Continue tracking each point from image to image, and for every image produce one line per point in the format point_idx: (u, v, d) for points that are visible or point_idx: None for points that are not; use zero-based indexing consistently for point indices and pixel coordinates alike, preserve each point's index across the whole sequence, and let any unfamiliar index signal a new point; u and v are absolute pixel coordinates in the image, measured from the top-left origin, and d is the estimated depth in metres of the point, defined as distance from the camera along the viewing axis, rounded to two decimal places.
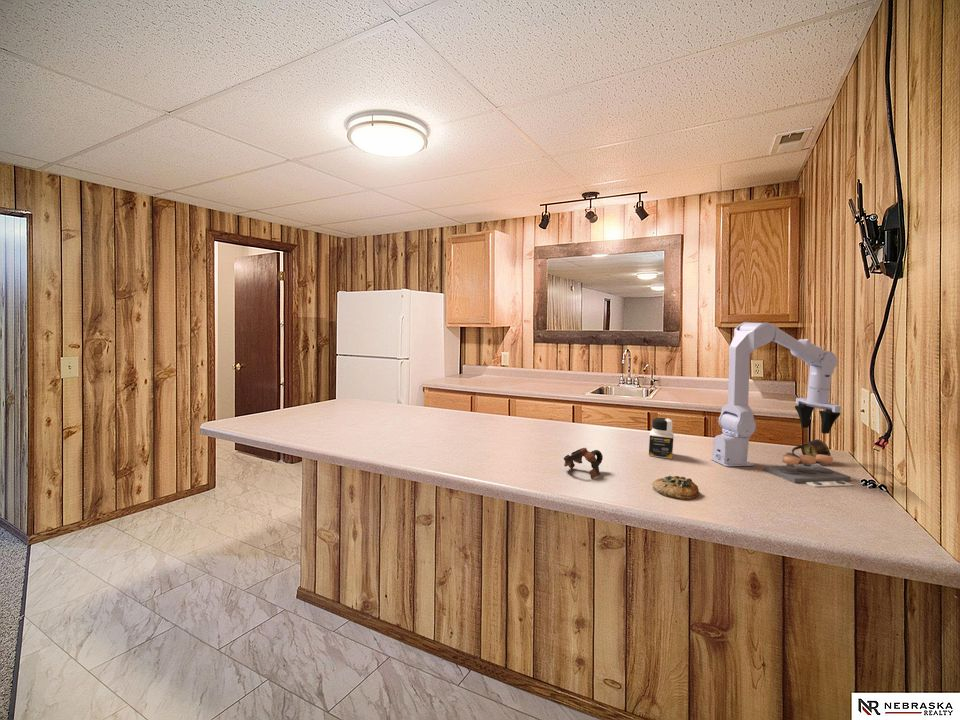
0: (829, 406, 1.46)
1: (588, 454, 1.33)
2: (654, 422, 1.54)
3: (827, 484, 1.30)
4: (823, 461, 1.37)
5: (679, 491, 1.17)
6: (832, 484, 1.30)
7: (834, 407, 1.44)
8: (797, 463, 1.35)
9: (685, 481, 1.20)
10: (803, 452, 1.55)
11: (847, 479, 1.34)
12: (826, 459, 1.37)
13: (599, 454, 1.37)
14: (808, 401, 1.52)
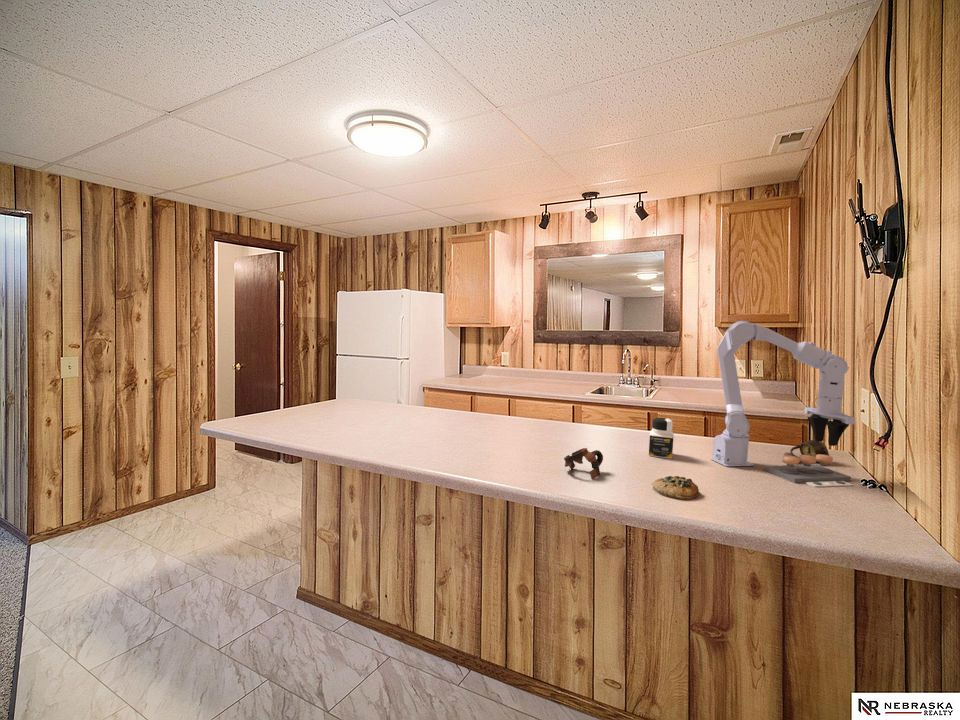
0: (842, 417, 1.32)
1: (589, 454, 1.32)
2: (654, 422, 1.54)
3: (827, 484, 1.30)
4: (823, 461, 1.37)
5: (679, 491, 1.17)
6: (832, 484, 1.30)
7: (847, 418, 1.31)
8: (797, 463, 1.35)
9: (685, 481, 1.20)
10: (801, 452, 1.55)
11: (847, 479, 1.34)
12: (826, 459, 1.37)
13: (599, 454, 1.37)
14: (818, 411, 1.38)
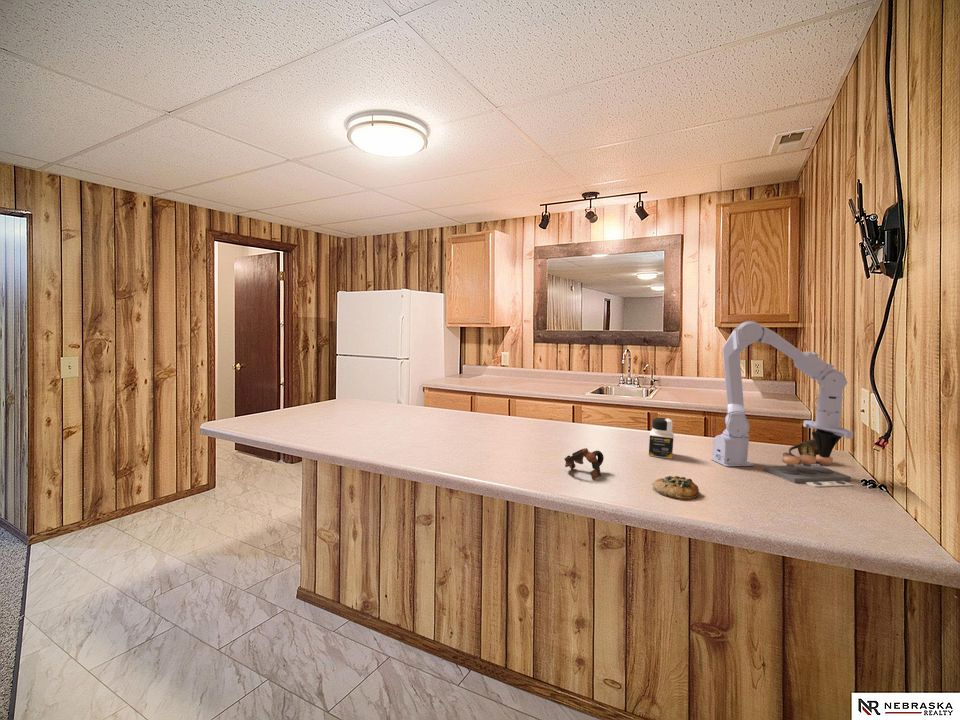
0: (840, 431, 1.32)
1: (589, 455, 1.32)
2: (654, 422, 1.54)
3: (827, 484, 1.30)
4: (823, 461, 1.37)
5: (679, 491, 1.17)
6: (832, 484, 1.30)
7: (846, 433, 1.31)
8: (797, 463, 1.35)
9: (685, 481, 1.20)
10: (800, 452, 1.55)
11: (847, 479, 1.34)
12: (826, 459, 1.37)
13: (600, 455, 1.36)
14: (816, 425, 1.38)
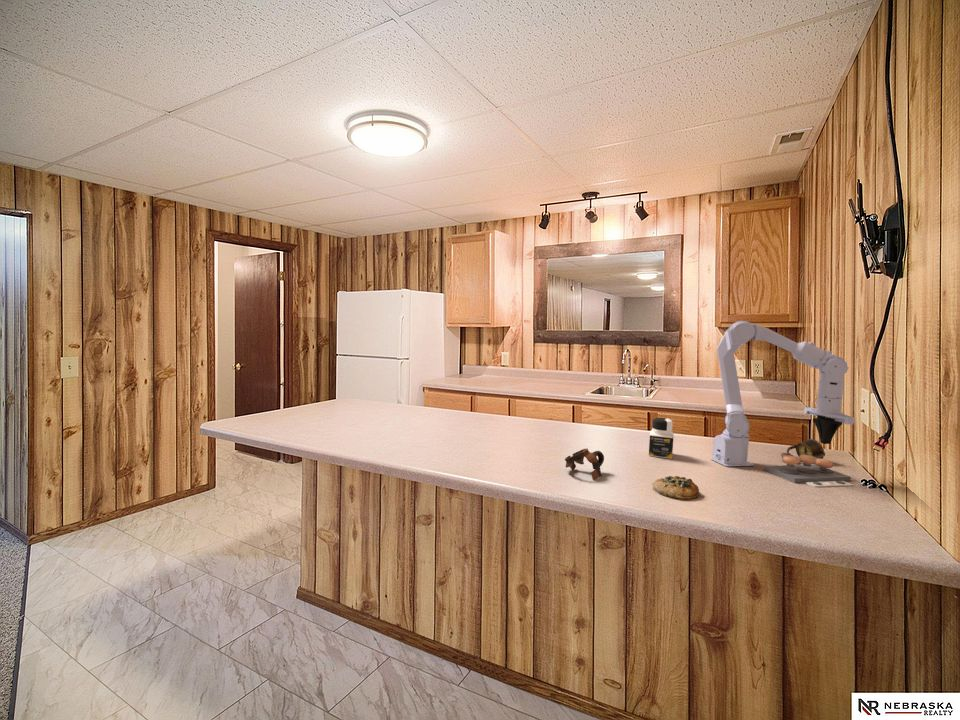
0: (841, 417, 1.32)
1: (590, 455, 1.32)
2: (654, 422, 1.54)
3: (827, 484, 1.30)
4: (823, 465, 1.37)
5: (679, 491, 1.17)
6: (832, 484, 1.30)
7: (847, 418, 1.31)
8: (797, 463, 1.35)
9: (685, 481, 1.20)
10: (797, 452, 1.56)
11: (847, 479, 1.34)
12: (826, 463, 1.37)
13: (600, 455, 1.36)
14: (817, 412, 1.38)
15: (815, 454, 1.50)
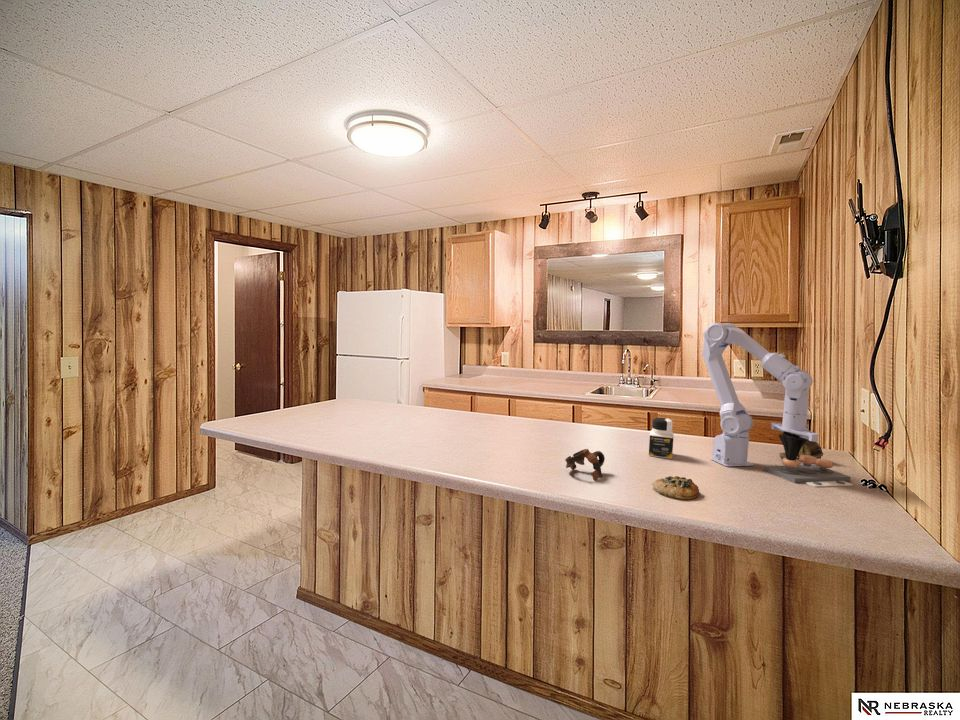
0: (806, 434, 1.31)
1: (590, 455, 1.31)
2: (654, 422, 1.54)
3: (827, 484, 1.30)
4: (823, 465, 1.37)
5: (679, 491, 1.17)
6: (832, 484, 1.30)
7: (811, 435, 1.29)
8: (797, 465, 1.35)
9: (685, 481, 1.20)
10: None
11: (847, 479, 1.34)
12: (826, 463, 1.37)
13: (601, 455, 1.36)
14: (783, 428, 1.36)
15: (813, 454, 1.50)
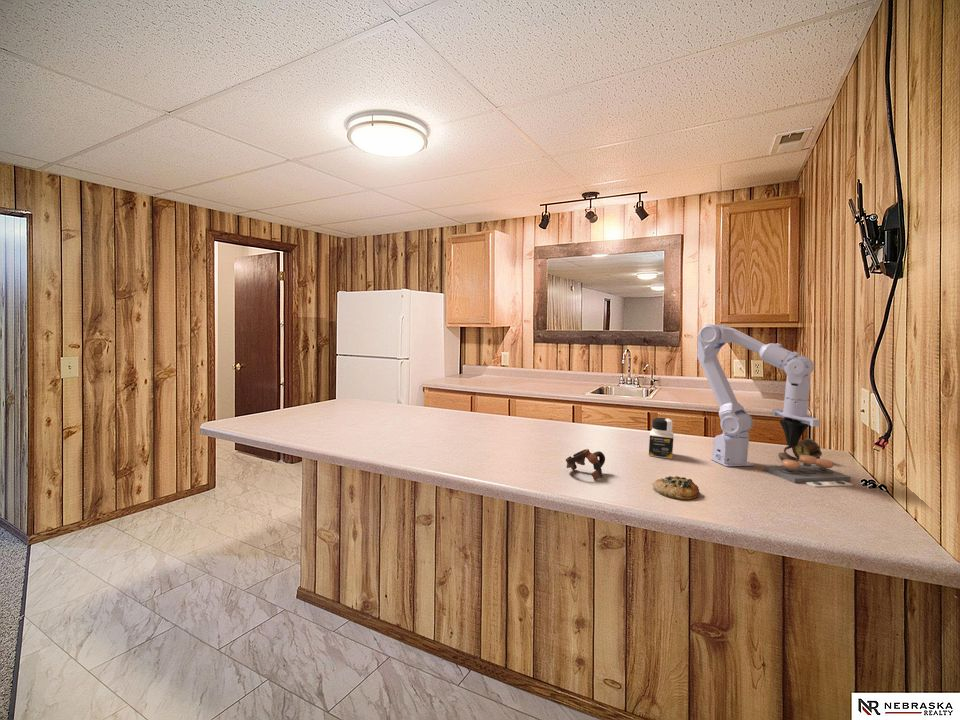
0: (807, 419, 1.30)
1: (591, 456, 1.31)
2: (654, 422, 1.54)
3: (827, 484, 1.30)
4: (823, 465, 1.37)
5: (679, 492, 1.17)
6: (832, 484, 1.30)
7: (812, 421, 1.29)
8: (797, 467, 1.35)
9: (685, 481, 1.20)
10: (794, 451, 1.56)
11: (847, 479, 1.34)
12: (826, 463, 1.37)
13: (601, 455, 1.35)
14: (784, 413, 1.36)
15: (812, 454, 1.50)
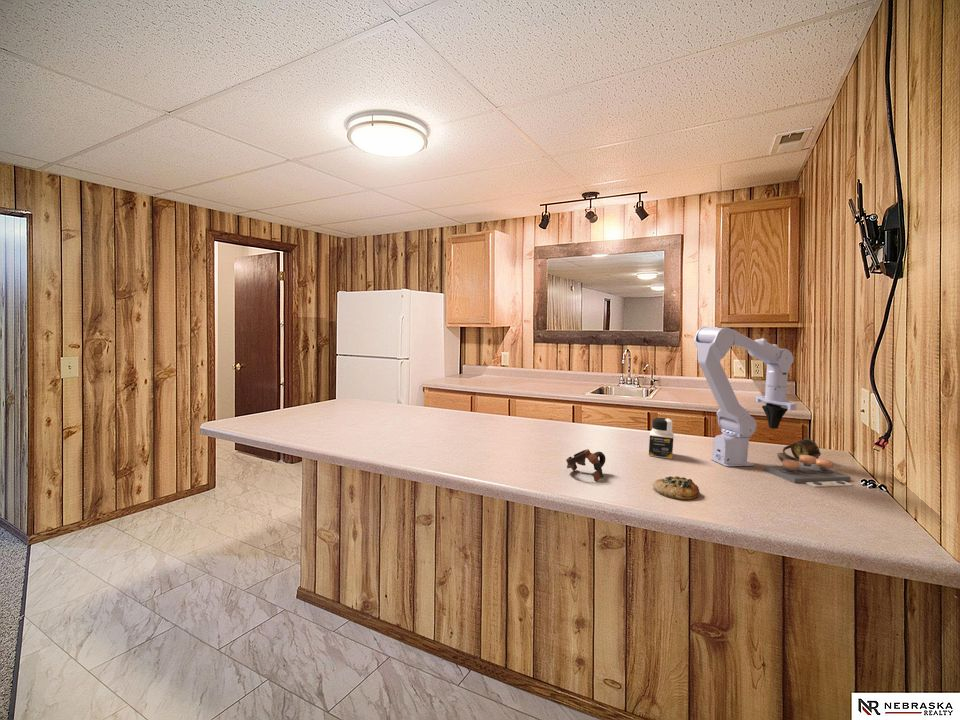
0: (785, 404, 1.45)
1: (591, 456, 1.31)
2: (654, 422, 1.54)
3: (827, 484, 1.30)
4: (823, 465, 1.37)
5: (680, 492, 1.17)
6: (832, 484, 1.30)
7: (789, 405, 1.44)
8: (797, 467, 1.35)
9: (685, 482, 1.20)
10: (793, 452, 1.56)
11: (847, 479, 1.34)
12: (826, 463, 1.37)
13: (602, 456, 1.35)
14: (765, 399, 1.51)
15: (811, 454, 1.50)
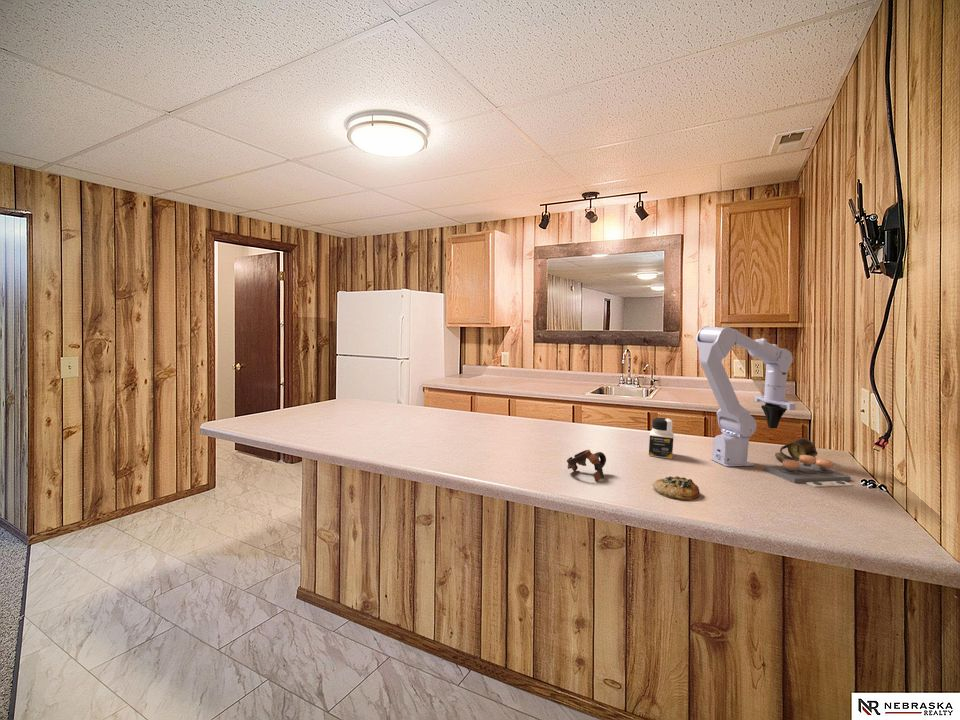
0: (784, 404, 1.46)
1: (592, 456, 1.31)
2: (654, 422, 1.54)
3: (827, 484, 1.30)
4: (823, 465, 1.37)
5: (680, 492, 1.17)
6: (832, 484, 1.30)
7: (789, 405, 1.44)
8: (797, 467, 1.35)
9: (686, 482, 1.20)
10: (789, 451, 1.56)
11: (847, 479, 1.34)
12: (826, 463, 1.37)
13: (602, 456, 1.35)
14: (765, 399, 1.52)
15: (808, 453, 1.50)
